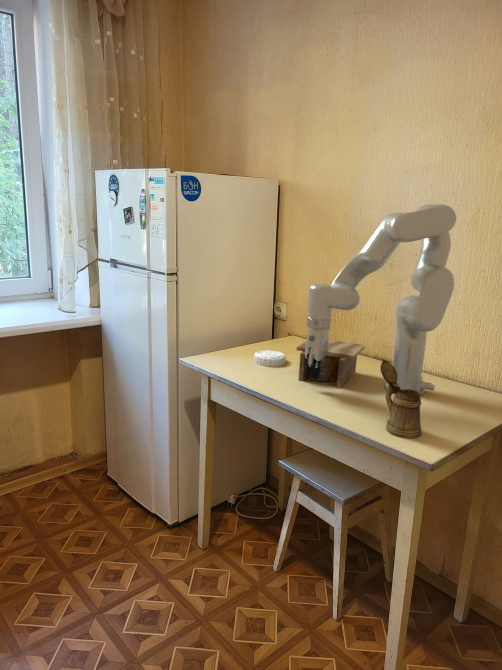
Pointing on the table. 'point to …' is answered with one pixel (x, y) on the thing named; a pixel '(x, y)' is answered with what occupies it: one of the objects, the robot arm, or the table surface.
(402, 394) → the wooden mug
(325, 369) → the tin
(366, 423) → the table surface
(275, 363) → the mooncake
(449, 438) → the table surface
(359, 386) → the table surface
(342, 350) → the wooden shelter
